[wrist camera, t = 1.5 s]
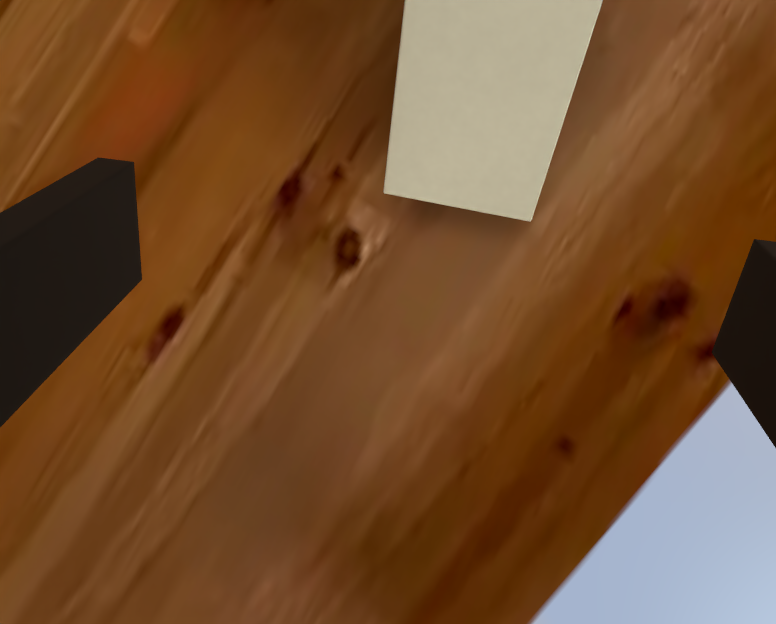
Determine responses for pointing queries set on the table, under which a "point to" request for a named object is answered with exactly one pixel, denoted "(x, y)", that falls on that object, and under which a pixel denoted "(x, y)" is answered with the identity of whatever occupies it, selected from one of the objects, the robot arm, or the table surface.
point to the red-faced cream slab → (483, 99)
